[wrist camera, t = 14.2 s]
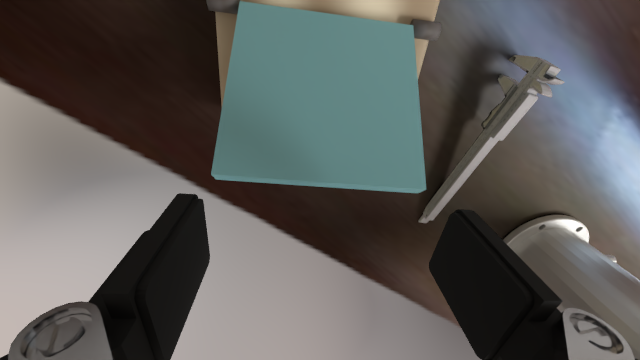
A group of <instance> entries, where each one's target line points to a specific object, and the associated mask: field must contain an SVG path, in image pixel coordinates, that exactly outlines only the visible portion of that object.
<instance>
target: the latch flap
mask: <svg viewBox="0 0 640 360" xmlns="http://www.w3.org/2000/svg"><path fill="white" fill-rule="evenodd" d="M211 175H212V176H213V177H214V178H215V179H216V180H230V181H244V182H259V183H274V184H288V185H303V186H317V187H332V188H346V189H361V190H375V191H390V192H404V193H420V192H422V191H424V190H426V178H425V165H424V153H423V140H422V128H421V115H420V103H419V90H418V78H417V65H416V53H415V40H414V28H413V25H407V24H400V23H393V22H386V21H379V20H372V19H364V18H357V17H350V16H343V15H336V14H329V13H322V12H314V11H307V10H300V9H293V8H286V7H279V6H272V5H264V4H257V3H250V2H243V1H240V2H239V8H238V14H237V20H236V26H235V33H234V39H233V45H232V51H231V57H230V63H229V69H228V75H227V81H226V87H225V93H224V99H223V105H222V111H221V117H220V123H219V129H218V136H217V142H216V148H215V154H214V160H213V166H212V172H211Z"/></svg>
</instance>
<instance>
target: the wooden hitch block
mask: <svg viewBox="0 0 640 360" xmlns="http://www.w3.org/2000/svg"><path fill="white" fill-rule="evenodd" d="M240 1H243V2H250V3H257V4H264V5H272V6H279V7H286V8H293V9H300V10H307V11H314V12H322V13H329V14H336V15H343V16H350V17H357V18H364V19H372V20H379V21H386V22H393V23H400V24H407V25H413V28H414V40H415V53H416V65H417V78H418V77H419V74H420V70H421V66H422V63H423V59H424V55H425V52H426V48H427V45H428V41H429V40H431V41H436V40H437V39H438V37H439V35H440V33H441V29H442V24H441V23H440V22H434V19H435V16H436V12H437V8H438V5H439V1H440V0H206V2H207V7H208V9H209V11H215V14H216V29H217V45H218V60H219V75H220V90H221V105H223V99H224V93H225V87H226V81H227V75H228V69H229V63H230V57H231V51H232V45H233V39H234V33H235V26H236V20H237V14H238V8H239V2H240Z"/></svg>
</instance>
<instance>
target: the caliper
mask: <svg viewBox="0 0 640 360" xmlns="http://www.w3.org/2000/svg"><path fill="white" fill-rule="evenodd" d="M509 61H511V62H513V63H514V64H516V65H517V66H518V67H520V68H521V69H523V70H524V71H526V72H527V74H526V75H525V77H524V78H523V79H522V80H521V82H520V83H519V82H517V81H516V80H514V79H512V78H510V77H508V76H505V75H502V74H500V76H499V78H498V81H499V84H500V86H501V88H502V90H503V93H504V95H505V98H504V100H503V101H502V102H501V104H498V105H497V106H496V107H495V108H494V109H493V110H492V111H491V112H490V114H489V116H488V117H487V119H486V120H485V121H484V122H483V123H482V124H481V126H482V127H483V129H484V130H483V132H482V133H481V134H480V135H479V137H478V138H477V139H476V141H475V142H474V143H473V145H472V146H471V147H470V149H469V150H468V151H467V153H466V154H465V155H464V157H463V158H462V159H461V161H460V162H459V163H458V165H457V166H456V167H455V169H454V170H453V171H452V173H451V174H450V175H449V177H448V178H447V179H446V180H445V182H444V183H443V184H442V186H441V187H440V188H439V190H438V191H437V192H436V194H435V195H434V196H433V197H432V199H431V200H430V201H429V203H428V205H427V206H426V208H425V210H424V212H423V215H422V216H421V218H420V219H419V221H418V222H421V223H427V222H428V221H429V220H432V221H433V220H434V218H435V217H436V216H437V215H438V214H439V212H440V211H441V210H442V209H443V208H444V206H445V205H446V204H447V203H448V201H449V200H450V199H451V198H452V197H453V195H454V194H455V193H456V192H457V190H458V189H459V188H460V187H461V186H462V184H463V183H464V182H465V181H466V179H467V178H468V177H469V176H470V175H471V173H472V172H473V171H474V170H475V168H476V167H477V166H478V165H479V164H480V162H481V161H482V160H483V159H484V157H485V156H486V155H487V154H488V153H489V151H490V150H491V149H492V148H493V146H494V145H495V144H496V143H497V142H498V140H501V141H503V139H504V138H505V137H506V136H507V135H508V134H509V132H510V131H511V130H512V129H513V128H514V126H515V125H516V124H517V123H518V122H519V121H520V119H521V118H522V117H523V116H524V115H525V113H526V112H527V111H528V110H529V109H530V108H531V106H532V105H533V104H534V103H535V102H536V100H537V99H538V96H536V94H537V93H540V94H542V95H545V96H548V97H552V92H551V88H550V87H549V86H548V85H547V84H546V83H548V84H552V85H559V84H563V83H564V81H562V80H560V79H558V78H557V77H555V76H556V75H557V74H558V73H559V71H560V70H561V69H559V68H558V67H556V66H554V65H553V64H551V63H549V62H548V61H546V60H544V59H541V58H538V57H531V56H521V55H514V56H512V57H511V58H510V59H509Z"/></svg>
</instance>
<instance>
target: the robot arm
mask: <svg viewBox="0 0 640 360" xmlns="http://www.w3.org/2000/svg"><path fill="white" fill-rule="evenodd" d="M209 259H210V253H209V244H208V237H207V228H206V220H205V212H204V204H203V200H202V199H198V196H197V195H195V194H177V195H176V197H175V198H174V199H173V200H172V202H171V203H170V204H169V206H168V207H167V208H166V209H165V211H164V212H163V213H162V215H161V216H160V217H159V219H158V220H157V221H156V222H155V224H154V225H153V226H152V228H151V229H150V230H148V231H145V232H144V233H143V234H142V235H141V236H140V237H139V239H138V240H137V241H136V242H135V244H134V245H133V246H132V248H131V249H130V250H129V251H128V253H127V254H126V255H125V256H124V258H123V259H122V260H121V261H120V263H119V264H118V265H117V266H116V268H115V269H114V270H113V271H112V273H111V274H110V275H109V276H108V278H107V279H106V280H105V282H104V283H103V284H102V285H101V287H100V288H99V289H98V290H97V292H96V293H95V294H94V295H93V297H92V298H91V299H90V301H89V302H74V303H68V304H65V305H62V306H59V307H56V308H54V309H52V310H50V311H48V312H46V313H44V314H42V315H40V316H39V317H38V318H36V319H35V320H33V321H32V322H31V323H29V324H28V325H27V326H26V327H25V328H24V329H23V330H22V331H21V332H20V333H19V334H18V335H17V337H16V338H15V340H14V341H13V342H12V344H11V347H10V351H9V354H7V355H5V356H3V357H1V358H0V360H170V359H171V356H172V354H173V352H174V349H175V347H176V344H177V342H178V339H179V337H180V334H181V332H182V329H183V327H184V324H185V322H186V319H187V317H188V314H189V312H190V309H191V307H192V304H193V302H194V299H195V297H196V294H197V292H198V289H199V287H200V284H201V282H202V279H203V277H204V274H205V272H206V269H207V267H208V264H209ZM429 269H430V272H431V274H432V275H433V277H434V279H435V281H436V283H437V285H438V286H439V288H440V290H441V292H442V294H443V295H444V297H445V299H446V301H447V303H448V305H449V306H450V308H451V310H452V312H453V314H454V315H455V317H456V319H457V321H458V323H459V325H460V326H461V328H462V330H463V332H464V333H465V335H466V337H467V339H468V341H469V343H470V344H471V346H472V348H473V350H474V351H475V353H476V355H477V356H478V357H479V358H480V359H482V360H640V280H639V279H637V278H636V277H634V276H633V275H632V274H630V273H629V272H627V271H626V270H625V269H623V268H622V267H621V266H619V265H618V264H616V258H615V257H614V256H613V255H610V254H603V253H601V252H600V251H598V250H597V249H596V248H594V247H593V246H591V245H590V244H589V232H588V229H587V228H586V226H585V225H584V224H582V223H581V222H580V221H578V220H576V219H575V218H573V217H570V216H566V215H549V216H544V217H540V218H537V219H534V220H531V221H529V222H527V223H525V224H523V225H521V226H519V227H518V228H516V229H515V230H513V231H512V232H511V233H510V234H509V235H507V236H506V237H505V238H504V239H503V240H502V239H501V238H500V237H499V236H498V235H497V234H496V233H495V232H494V231H493V230H492V229H491V228H490V227H489V226H488V225H487V224H486V223H485V222H484V221H483V220H482V219H481V218H480V217H479V216H478V215H477V214H476V213H475V212H474V211H471V210H456V211H455V212H454V213H452V214H451V215H450V216H449V218H448V221H447V223H446V225H445V228H444V230H443V232H442V235H441V237H440V239H439V241H438V244H437V246H436V248H435V251H434V253H433V255H432V257H431V260H430V262H429Z"/></svg>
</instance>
